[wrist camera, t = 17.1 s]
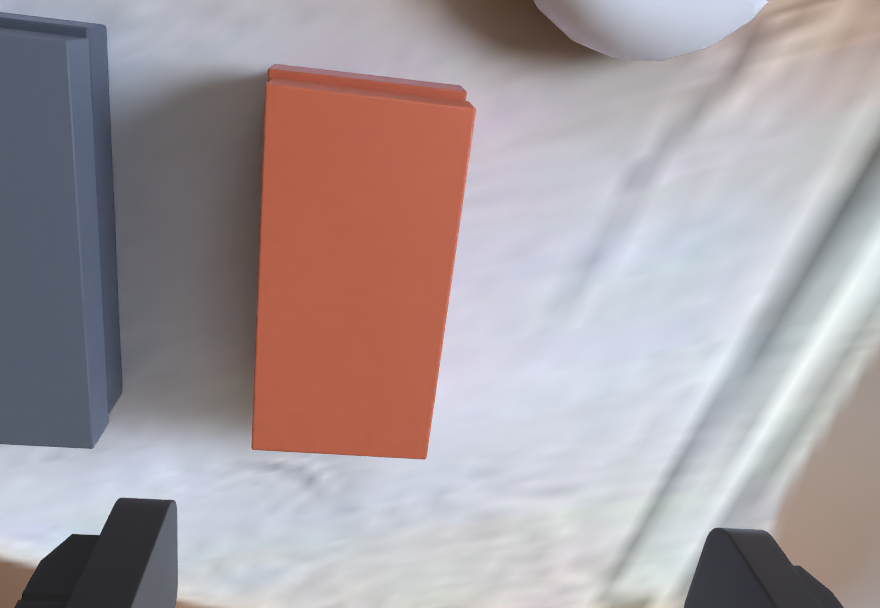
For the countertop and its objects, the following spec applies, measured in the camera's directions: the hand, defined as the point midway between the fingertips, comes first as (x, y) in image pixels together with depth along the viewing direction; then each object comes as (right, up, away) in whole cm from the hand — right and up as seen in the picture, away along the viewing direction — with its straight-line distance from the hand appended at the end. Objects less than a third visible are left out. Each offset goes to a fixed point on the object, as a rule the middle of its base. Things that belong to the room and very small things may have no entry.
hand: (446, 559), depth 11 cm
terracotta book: (-3, +5, +14) cm, 16 cm away
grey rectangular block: (-15, +7, +16) cm, 23 cm away
